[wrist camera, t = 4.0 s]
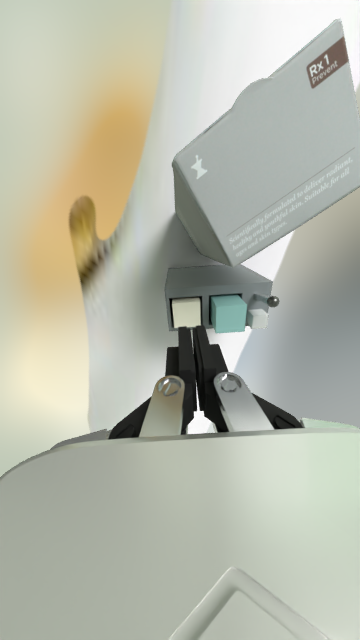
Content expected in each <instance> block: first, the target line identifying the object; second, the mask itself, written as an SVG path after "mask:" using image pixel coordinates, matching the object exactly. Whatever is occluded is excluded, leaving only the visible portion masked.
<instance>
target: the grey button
mask: <svg viewBox="0 0 360 640" xmlns="http://www.w3.org/2000/svg"><path fill="white" fill-rule="evenodd" d="M268 316H269V315H268V314H267V313H266V312H265V311H264V310H263V309H255V310H248V316H247V323H248V325H249V326H250V327H251V329H262V328H267V322H268Z"/></svg>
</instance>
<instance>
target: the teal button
mask: <svg viewBox="0 0 360 640" xmlns="http://www.w3.org/2000/svg"><path fill="white" fill-rule="evenodd" d="M246 311H247V304H246V303H245V302H244V301H243V300H242V299H241V298H240V297H239V296H238V295H237V293H236V294H221V295H210V319H211V322H212V325H213V327H214V330H215V332H216V333H227V332H242V331H245V321H246Z"/></svg>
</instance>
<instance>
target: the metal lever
mask: <svg viewBox="0 0 360 640" xmlns="http://www.w3.org/2000/svg"><path fill="white" fill-rule="evenodd" d="M254 299H256V300H258V301H261V302H263V303H266V304H267V305H268V306H270V307H276V306H277V305H278V304H279V299H278V298H277V297H276V296H267V295H264V294H261V293H257V294H254Z"/></svg>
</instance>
